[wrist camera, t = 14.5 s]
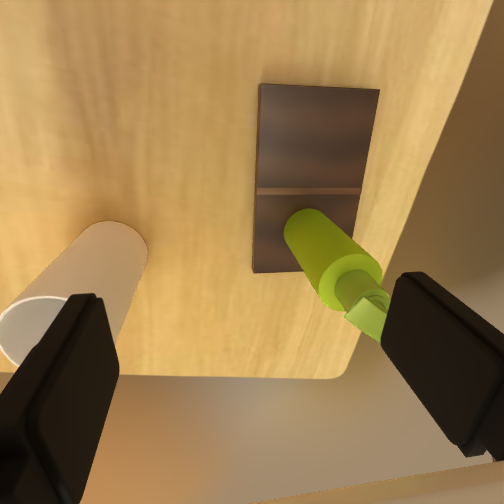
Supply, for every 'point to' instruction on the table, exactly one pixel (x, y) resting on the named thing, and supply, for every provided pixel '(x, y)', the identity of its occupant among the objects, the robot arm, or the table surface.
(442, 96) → the table surface
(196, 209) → the table surface
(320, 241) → the soap dispenser
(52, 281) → the cup
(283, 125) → the walnut board
